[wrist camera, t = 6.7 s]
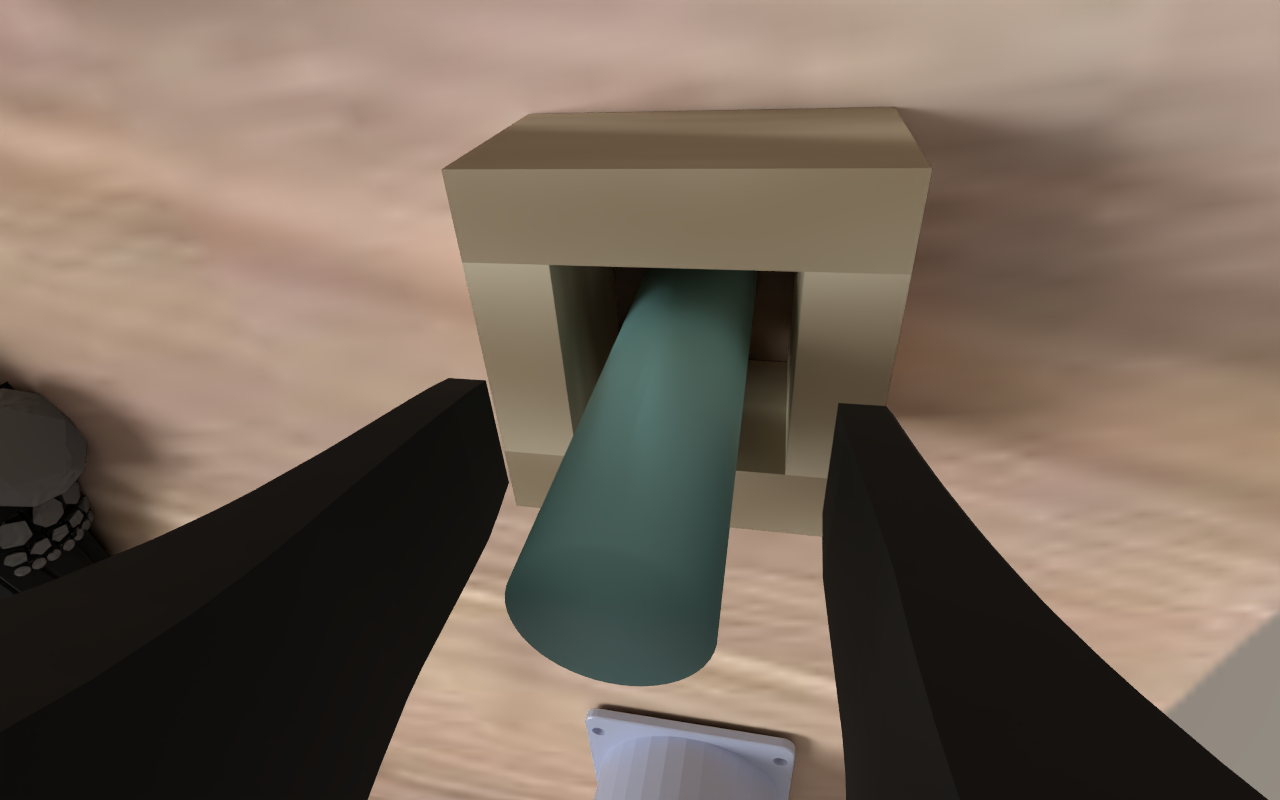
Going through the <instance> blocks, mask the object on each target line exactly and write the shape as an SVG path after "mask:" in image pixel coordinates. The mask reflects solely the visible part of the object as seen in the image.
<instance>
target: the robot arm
mask: <svg viewBox="0 0 1280 800" xmlns="http://www.w3.org/2000/svg"><path fill="white" fill-rule="evenodd" d="M508 484H509V481H508V477H507V472H506V468H505V463H504V459H503V455H502V450H501V446H500V441H499V437H498V433H497V428H496V424H495V419H494V415H493V410H492V406H491V402H490V397H489V393H488V388H487V384H486V381H485V380H470V379H454V378H448V379H446V380H444V381H442V382H440V383H438V384H436V385H434V386H432V387H430V388H429V389H427V390H425V391H423V392H421V393H420V394H418V395H416V396H415V397H413V398H411V399H410V400H408V401H406V402H405V403H403V404H401V405H400V406H398V407H396V408H395V409H393V410H391V411H390V412H388V413H386V414H385V415H383V416H381V417H380V418H378V419H377V420H375V421H373V422H372V423H370V424H368V425H367V426H365V427H363V428H362V429H360V430H358V431H357V432H355V433H353V434H352V435H350V436H348V437H347V438H345V439H343V440H342V441H340V442H338V443H337V444H335V445H334V446H332V447H330V448H329V449H327V450H325V451H323V452H322V453H320V454H318V455H316V456H315V457H313V458H311V459H309V460H307V461H306V462H304V463H302V464H300V465H298V466H297V467H295V468H293V469H291V470H290V471H288V472H286V473H284V474H282V475H281V476H279V477H277V478H275V479H273V480H272V481H270V482H268V483H266V484H265V485H263V486H261V487H259V488H257V489H256V490H254V491H252V492H250V493H248V494H246V495H244V496H242V497H240V498H238V499H237V500H235V501H233V502H231V503H229V504H227V505H225V506H223V507H221V508H219V509H217V510H215V511H213V512H211V513H209V514H206V515H204V516H202V517H200V518H198V519H196V520H194V521H192V522H189V523H187V524H185V525H183V526H181V527H179V528H177V529H175V530H172V531H170V532H168V533H166V534H164V535H162V536H159V537H157V538H155V539H153V540H150V541H148V542H146V543H143V544H141V545H139V546H136V547H134V548H131V549H129V550H126V551H124V552H121V553H119V554H117V555H114V556H112V557H109V558H107V559H104V560H102V561H99V562H97V563H95V564H92V565H90V566H87V567H85V568H82V569H80V570H77V571H75V572H73V573H70V574H68V575H65V576H63V577H60V578H58V579H55V580H53V581H50V582H48V583H45V584H42V585H40V586H37V587H34V588H32V589H29V590H26V591H23V592H21V593H18V594H15V595H12V596H10V597H7V598H4V599H1V600H0V800H368V797H369V795H370V792H371V789H372V787H373V784H374V781H375V779H376V776H377V773H378V771H379V768H380V765H381V763H382V760H383V758H384V755H385V753H386V750H387V748H388V745H389V743H390V740H391V738H392V736H393V733H394V731H395V728H396V726H397V723H398V721H399V718H400V716H401V713H402V711H403V708H404V706H405V703H406V701H407V699H408V696H409V694H410V692H411V690H412V688H413V686H414V684H415V682H416V679H417V677H418V675H419V673H420V671H421V669H422V667H423V665H424V663H425V661H426V659H427V657H428V655H429V653H430V652H431V650H432V648H433V646H434V644H435V642H436V640H437V638H438V636H439V634H440V633H441V631H442V629H443V627H444V625H445V623H446V621H447V619H448V617H449V615H450V613H451V612H452V610H453V608H454V606H455V604H456V602H457V600H458V598H459V596H460V594H461V593H462V591H463V589H464V587H465V585H466V583H467V581H468V579H469V577H470V575H471V573H472V571H473V569H474V567H475V565H476V564H477V562H478V560H479V558H480V556H481V554H482V552H483V550H484V548H485V546H486V544H487V542H488V540H489V537H490V535H491V532H492V529H493V527H494V524H495V521H496V519H497V516H498V513H499V510H500V507H501V504H502V501H503V498H504V495H505V492H506V490H507V487H508ZM822 549H823V583H824V591H825V600H826V608H827V616H828V624H829V632H830V640H831V648H832V656H833V664H834V672H835V680H836V688H837V696H838V704H839V712H840V720H841V728H842V737H843V749H844V761H845V776H846V800H1268V799H1267V798H1265V797H1264V796H1263V795H1262V794H1260V793H1259V792H1258V791H1257V790H1255V789H1254V788H1253V787H1251V786H1250V785H1249V784H1248V783H1246V782H1245V781H1244V780H1243V779H1242V778H1240V777H1239V776H1238V775H1236V774H1235V773H1234V772H1233V771H1232V770H1230V769H1229V768H1228V767H1227V766H1225V765H1224V764H1223V763H1222V762H1220V761H1219V760H1218V759H1217V758H1216V757H1214V756H1213V755H1212V754H1211V753H1210V752H1209V751H1207V750H1206V749H1205V748H1204V747H1203V746H1202V745H1200V744H1199V743H1198V742H1196V740H1195V739H1193V738H1192V737H1191V736H1190V735H1189V734H1187V733H1186V732H1185V731H1184V730H1183V729H1182V728H1180V727H1179V726H1178V725H1177V724H1176V723H1174V722H1173V721H1172V720H1171V719H1170V718H1169V717H1167V716H1166V715H1165V714H1164V713H1163V712H1162V711H1160V710H1159V709H1158V708H1157V707H1156V706H1154V705H1153V704H1152V703H1151V702H1150V701H1149V700H1147V699H1146V698H1145V697H1144V696H1143V695H1141V694H1140V693H1139V692H1138V691H1137V690H1136V689H1135V688H1134V687H1133V686H1131V685H1130V684H1129V683H1128V682H1127V681H1126V680H1125V679H1124V678H1123V677H1121V676H1120V675H1119V674H1118V673H1117V672H1116V671H1115V670H1114V669H1113V668H1111V667H1110V666H1109V665H1108V664H1107V663H1106V662H1105V661H1104V660H1103V659H1102V658H1101V657H1100V656H1099V655H1097V654H1096V653H1095V652H1094V651H1093V650H1092V649H1091V648H1090V647H1089V646H1088V645H1087V644H1086V643H1085V642H1084V641H1083V640H1082V639H1081V638H1080V637H1079V636H1078V635H1077V634H1076V633H1075V632H1074V631H1073V630H1072V629H1071V628H1069V627H1068V626H1067V625H1066V624H1065V623H1064V622H1063V621H1062V620H1061V619H1060V618H1059V617H1058V616H1057V615H1056V614H1055V613H1054V612H1053V611H1052V610H1051V609H1050V608H1049V607H1048V606H1047V605H1046V604H1045V603H1044V602H1043V601H1042V600H1041V599H1040V598H1039V597H1038V595H1037V594H1036V593H1035V592H1034V591H1033V590H1032V589H1031V588H1030V587H1029V586H1028V585H1027V584H1026V583H1025V582H1024V581H1023V579H1022V578H1021V577H1020V576H1019V575H1018V574H1017V573H1016V572H1015V571H1014V569H1013V568H1012V567H1011V566H1010V565H1009V564H1008V563H1007V562H1006V561H1005V559H1004V558H1003V557H1002V556H1001V555H1000V554H999V553H998V552H997V550H996V549H995V548H994V547H993V546H992V545H991V544H990V542H989V541H988V540H987V539H986V538H985V536H984V535H983V534H982V533H981V532H980V531H979V529H978V528H977V527H976V526H975V525H974V523H973V522H972V521H971V520H970V518H969V517H968V516H967V515H966V513H965V512H964V511H963V510H962V508H961V507H960V506H959V505H958V503H957V502H956V501H955V500H954V498H953V497H952V496H951V495H950V493H949V492H948V491H947V489H946V488H945V487H944V486H943V484H942V483H941V482H940V480H939V479H938V478H937V476H936V475H935V474H934V472H933V471H932V470H931V468H930V467H929V465H928V464H927V463H926V461H925V460H924V459H923V457H922V456H921V454H920V453H919V452H918V450H917V449H916V447H915V446H914V445H913V443H912V442H911V440H910V439H909V437H908V436H907V434H906V433H905V431H904V430H903V429H902V427H901V426H900V424H899V423H898V421H897V420H896V418H895V417H894V415H893V414H892V413H891V411H890V410H889V409H888V408H887V407H886V406H879V405H863V404H847V403H838V409H837V416H836V423H835V429H834V436H833V443H832V450H831V457H830V464H829V470H828V477H827V484H826V491H825V498H824V505H823V511H822ZM585 722H586V727H587V732H588V737H589V743H590V748H591V753H592V758H593V764H594V769H595V774H596V780H597V789H596V793H595V797H594V800H788V798H789V791H790V785H791V779H792V773H793V766H794V760H795V745H794V744H793V743H792V742H791V741H789V740H788V739H784V738H779V737H773V736H767V735H761V734H754V733H748V732H742V731H736V730H730V729H723V728H717V727H711V726H705V725H698V724H692V723H686V722H680V721H673V720H667V719H661V718H655V717H649V716H642V715H636V714H630V713H624V712H617V711H611V710H605V709H598V708H594V709H591V710H589V711H588V713H587V717H586V721H585Z"/></svg>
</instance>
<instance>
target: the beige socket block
mask: <svg viewBox="0 0 1280 800" xmlns="http://www.w3.org/2000/svg"><path fill="white" fill-rule="evenodd" d="M441 170H442V174H443V179H444V183H445V188H446V192H447V197H448V201H449V206H450V210H451V214H452V219H453V223H454V228H455V232H456V237H457V241H458V246H459V250H460V255H461V259H462V264H463V268H464V273H465V277H466V282H467V286H468V291H469V295H470V299H471V304H472V308H473V313H474V317H475V322H476V326H477V331H478V335H479V340H480V344H481V349H482V353H483V358H484V362H485V367H486V371H487V375H488V380H489V384H490V389H491V393H492V398H493V402H494V407H495V411H496V416H497V420H498V425H499V429H500V434H501V438H502V443H503V447H504V451H505V456H506V460H507V465H508V469H509V474H510V478H511V483H512V487H513V492H514V496H515V501H516V505H517V506H526V507H536V508H541V507H542V504H543V502H544V500H545V498H546V495H547V493H548V491H549V489H550V487H551V484H552V482H553V480H554V478H555V475H556V473H557V471H558V469H559V466H560V464H561V462H562V460H563V457H564V455H565V453H566V451H567V449H568V446H569V444H570V442H571V440H572V437H573V435H574V433H575V431H576V428H577V426H578V424H579V422H580V419H581V417H582V415H583V413H584V411H585V408H586V406H587V404H588V402H589V399H590V397H591V395H592V393H593V390H594V388H595V386H596V384H597V381H598V379H599V377H600V375H601V373H602V370H603V368H604V366H605V364H606V361H607V359H608V357H609V355H610V352H611V350H612V348H613V346H614V343H615V341H616V339H617V337H618V335H619V329H618V317H617V305H616V293H615V280H614V268H613V267H645V268H682V269H720V270H757V271H794V272H795V278H794V290H793V301H792V312H791V324H790V335H789V347H788V358H787V362H774V361H755V360H748V366H747V375H746V384H745V393H744V402H743V411H742V420H741V429H740V438H739V447H738V456H737V465H736V474H735V483H734V492H733V501H732V510H731V519H730V527H732V528H742V529H752V530H762V531H771V532H781V533H791V534H801V535H811V536H821V537H822V511H823V505H824V498H825V491H826V484H827V477H828V470H829V464H830V457H831V450H832V443H833V436H834V429H835V423H836V416H837V409H838V403H847V404H863V405H879V406H886V401H887V396H888V391H889V386H890V381H891V376H892V371H893V366H894V361H895V356H896V350H897V345H898V340H899V335H900V330H901V325H902V320H903V315H904V310H905V305H906V300H907V295H908V290H909V285H910V280H911V274H912V269H913V264H914V259H915V254H916V249H917V244H918V239H919V234H920V229H921V224H922V219H923V214H924V209H925V204H926V199H927V193H928V188H929V183H930V178H931V173H932V167H931V165H930V163H929V162H928V160H927V159H926V157H925V155H924V154H923V152H922V150H921V149H920V147H919V146H918V144H917V142H916V141H915V139H914V138H913V136H912V134H911V133H910V131H909V129H908V128H907V126H906V125H905V123H904V121H903V120H902V118H901V117H900V115H899V113H898V112H897V110H896V108H895V107H867V108H816V109H765V110H714V111H663V112H612V113H561V114H528V115H526V116H525V117H523V118H522V119H520V120H519V121H517V122H515V123H514V124H512V125H511V126H509V127H508V128H506V129H504V130H503V131H501V132H500V133H498V134H497V135H495V136H493V137H492V138H490V139H489V140H487V141H485V142H484V143H482V144H481V145H479V146H478V147H476V148H474V149H473V150H471V151H470V152H468V153H467V154H465V155H463V156H462V157H460V158H459V159H457V160H456V161H454V162H452V163H451V164H449V165H448V166H446V167H445V168H443V169H441Z"/></svg>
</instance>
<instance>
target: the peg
mask: <svg viewBox="0 0 1280 800" xmlns="http://www.w3.org/2000/svg"><path fill="white" fill-rule="evenodd" d="M756 284H757V274H756V270H720V269H682V268H648V270H647V272H646V274H645V276H644V279H643V281H642V283H641V285H640V288H639V290H638V292H637V294H636V297H635V299H634V301H633V303H632V305H631V308H630V310H629V312H628V314H627V317H626V319H625V321H624V323H623V326H622V328H621V330H620V332H619V335H618V337H617V339H616V341H615V343H614V346H613V348H612V350H611V352H610V355H609V357H608V359H607V361H606V364H605V366H604V368H603V370H602V373H601V375H600V377H599V379H598V381H597V384H596V386H595V388H594V390H593V393H592V395H591V397H590V399H589V402H588V404H587V406H586V408H585V411H584V413H583V415H582V417H581V419H580V422H579V424H578V426H577V428H576V431H575V433H574V435H573V437H572V440H571V442H570V444H569V446H568V449H567V451H566V453H565V455H564V457H563V460H562V462H561V464H560V466H559V469H558V471H557V473H556V475H555V478H554V480H553V482H552V484H551V487H550V489H549V491H548V493H547V495H546V498H545V500H544V502H543V504H542V507H541V509H540V511H539V513H538V516H537V518H536V520H535V522H534V525H533V527H532V529H531V531H530V533H529V536H528V538H527V540H526V542H525V545H524V547H523V549H522V551H521V554H520V556H519V558H518V560H517V563H516V565H515V567H514V569H513V571H512V574H511V576H510V578H509V581H508V583H507V585H506V591H505V604H506V608H507V612H508V614H509V617H510V619H511V621H512V623H513V624H514V626H515V628H516V629H517V631H518V632H519V633H520V634H521V636H522V637H523V638H524V639H525V640H526V641H527V642H528V643H529V644H530V645H531V646H532V647H533V648H535V649H536V650H537V651H538V652H540V653H541V654H542V655H544V656H545V657H547V658H548V659H550V660H551V661H553V662H555V663H556V664H558V665H560V666H562V667H564V668H566V669H568V670H570V671H573V672H575V673H577V674H580V675H582V676H586V677H589V678H592V679H595V680H599V681H603V682H607V683H613V684H619V685H628V686H655V685H662V684H668V683H672V682H676V681H679V680H682V679H684V678H687V677H689V676H691V675H692V674H694V673H696V672H697V671H699V670H700V669H701V668H703V667H704V666H705V665H706V663H707V662H708V661H709V660H710V659H711V657H712V655H713V653H714V651H715V648H716V645H717V637H718V628H719V619H720V610H721V601H722V592H723V583H724V574H725V565H726V556H727V547H728V538H729V529H730V519H731V510H732V501H733V492H734V483H735V474H736V465H737V456H738V447H739V438H740V429H741V420H742V411H743V402H744V393H745V384H746V375H747V366H748V357H749V348H750V339H751V330H752V321H753V312H754V303H755V294H756Z"/></svg>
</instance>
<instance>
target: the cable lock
mask: <svg viewBox="0 0 1280 800" xmlns="http://www.w3.org/2000/svg"><path fill="white" fill-rule="evenodd" d="M86 451H87V442H86V440H85V439H84V438H83V436H82V435H81V433H80V432H79V431H78V429H77V428H76V427H75V425H74V424H73V423H72V422H71V421H70V419H69V418H68V417H67V416H66V415H64V414H63V413H62V412H61V411H60V410H59V409H58V408H57V407H55V406H54V405H53V404H52V403H50V402H49V401H48V400H47V399H45V398H44V397H43V396H41V395H40V394H37V393H30V392H24V391H17V390H15V389H14V388H13V387H12V386H11V385H10V384H9V383H8V382H6V383H4V384H2V385H0V600H1V599H4V598H7V597H10V596H12V595H15V594H18V593H21V592H23V591H26V590H29V589H32V588H34V587H37V586H40V585H42V584H45V583H48V582H50V581H53V580H55V579H58V578H60V577H63V576H65V575H68V574H70V573H73V572H75V571H77V570H80V569H82V568H85V567H87V566H90V565H92V564H95V563H97V562H99V561H102V560H104V559H107V558H109V556H108V554H107V553H106V552H105V551H104V550H103V548H102V547H101V546H100V545H99V544H98V542H97V541H96V540H95V539H94V538H93V536H92V535H91V534H90V533H89V532H88V529H89V528H90V525H91V523H90V521H91V522H92V521H93V518H94V514H93V513H92V512H91V511H89V512H88V510H89V508H90V503H89V500H88V498H87V497H83V498H82V496H81V494H80V487H79V484H78V483H77V482H76V480H77V479H78V477H79V476H80V475H81V474H82V473H83V472H84V471H85V463H86Z"/></svg>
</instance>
